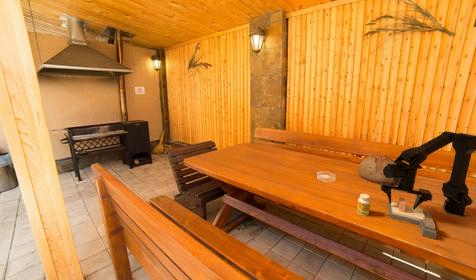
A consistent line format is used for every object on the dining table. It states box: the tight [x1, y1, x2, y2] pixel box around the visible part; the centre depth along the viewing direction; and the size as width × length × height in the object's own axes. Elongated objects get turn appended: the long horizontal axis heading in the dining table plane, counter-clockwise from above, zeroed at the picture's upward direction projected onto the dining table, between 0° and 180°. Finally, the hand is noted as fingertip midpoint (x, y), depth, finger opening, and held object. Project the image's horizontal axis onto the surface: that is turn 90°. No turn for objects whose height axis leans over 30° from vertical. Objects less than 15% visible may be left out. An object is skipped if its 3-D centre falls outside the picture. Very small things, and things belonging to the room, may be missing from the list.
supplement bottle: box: [356, 193, 372, 217], centre depth 101 cm, size 5×5×10 cm
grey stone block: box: [423, 217, 436, 230], centre depth 88 cm, size 3×5×2 cm, turn 147°
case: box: [387, 202, 437, 240], centre depth 95 cm, size 16×20×3 cm
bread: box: [358, 154, 396, 185], centre depth 140 cm, size 26×23×15 cm
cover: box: [391, 197, 425, 220], centre depth 98 cm, size 12×10×6 cm
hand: (401, 206), depth 100 cm, fingers open, 9 cm apart
